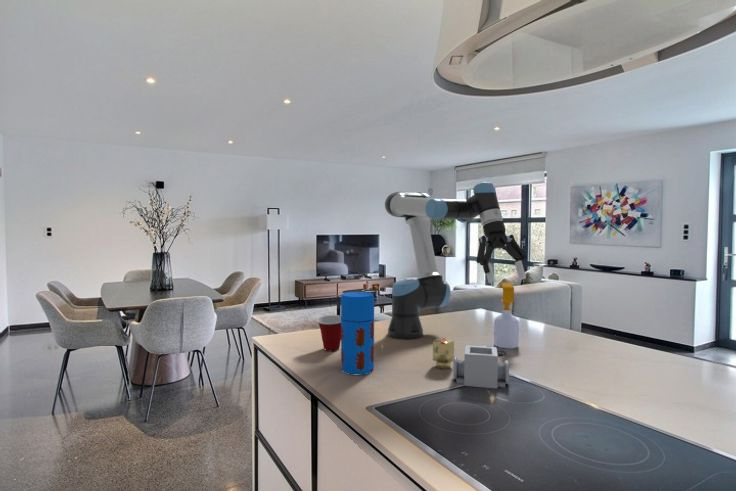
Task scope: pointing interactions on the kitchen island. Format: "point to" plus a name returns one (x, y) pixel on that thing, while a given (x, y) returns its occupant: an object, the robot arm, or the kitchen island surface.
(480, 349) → the grey box with flanges
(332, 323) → the plastic cup
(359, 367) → the thermos
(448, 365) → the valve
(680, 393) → the kitchen island surface
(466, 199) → the robot arm
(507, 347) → the soap bottle
